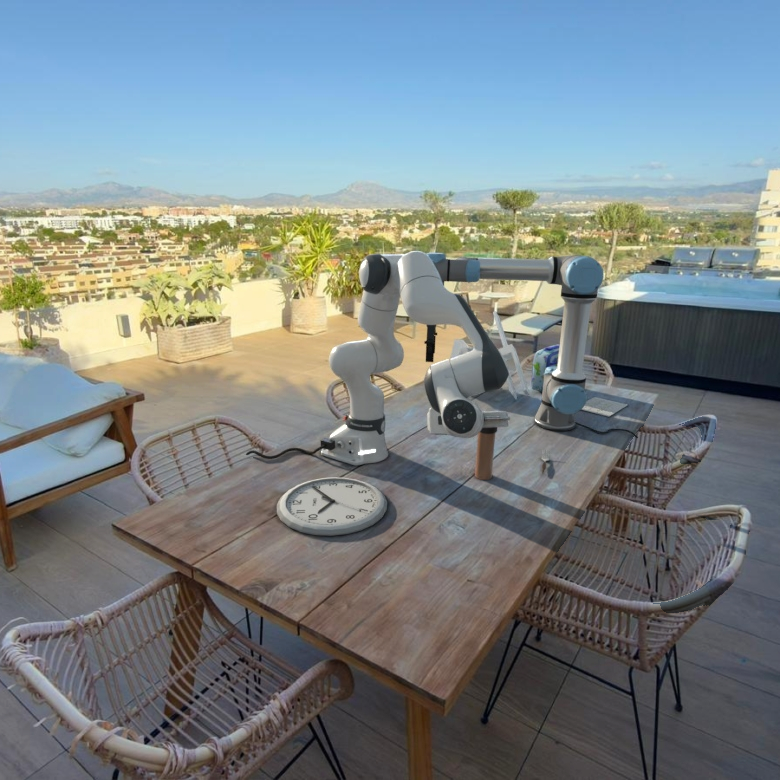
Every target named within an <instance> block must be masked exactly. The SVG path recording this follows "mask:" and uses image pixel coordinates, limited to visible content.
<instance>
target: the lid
mask: <svg viewBox="0 0 780 780" xmlns="http://www.w3.org/2000/svg"><path fill="white" fill-rule="evenodd" d="M480 432H481V433H486V434H492V433H495V434H496V433H497V432H498V427H492V428H482V430H481V431H480Z"/></svg>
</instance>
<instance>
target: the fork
mask: <svg viewBox="0 0 780 780" xmlns="http://www.w3.org/2000/svg"><path fill="white" fill-rule="evenodd" d="M541 460H542V461H543V463H542V465H541V474H544V473H545V469H546V468H547V463H546V462H548V461H550V460H551V452H549V451H547V450H544V449H543V450H542V455H541Z"/></svg>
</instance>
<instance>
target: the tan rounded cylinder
mask: <svg viewBox="0 0 780 780" xmlns="http://www.w3.org/2000/svg"><path fill="white" fill-rule="evenodd" d="M495 441H496V433H492V434H486V433H481V432H479V433H478V434H477V440H476V454H475V467H474V469H475V470H474V477H475V478H476V479H478V480H481V481H482V480H483V481H488V480H491V479H492V477H493V466H494V453H495V444H496V443H495Z"/></svg>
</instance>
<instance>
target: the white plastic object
mask: <svg viewBox="0 0 780 780" xmlns="http://www.w3.org/2000/svg"><path fill="white" fill-rule="evenodd" d="M492 315H493V319H494V321H495V324H496V325H495V326H496V328H497V332H498V335H499V338H500V342H501V345H502V347H500V348H497V349H498V350H499V351H500V353H501V354H502V355H503V357H504V358H505V360H506V363H507V366H508V373H509V376H508V378H507V380H506V383H507V386H508V390H509V393H510V394H511V395H512V397H513V398H514V399H515V400H517V392H516V391H517V390H516V388H515V385H514V381H513V378H512V375H511V371H510V369H509V365H508V361H510V360H513V363H514V366H515V369H516V372H517V376H518V380H519V382H520V385H521V389H522V391H523V393H524V395H525V396H526V397H528V396H531V395H530V390H529V388H528V387H529V386H528V384H527V381H526V378H525V375H524V371H523V369H522V368H523V367H522V366H521V362H520V359H519V355H518V352H517V349H516V347H515V346H514V345H513V343H511V344H508V341H507V337H506V334H505V331H504V328H503V325H502V321H501V318H500V315H499V314H498V312H497V311H496V310H495V311H492ZM473 349H474V347H473V346H469V345H468V343H466V342H465V340H464V339H463V338H460V339H458V338H454V340H453V344H452V349H451V353H450V357H449V359H450V358H453V357H456V356H459V355H462V354H465V353H467V352H470V351H472V350H473Z"/></svg>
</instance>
